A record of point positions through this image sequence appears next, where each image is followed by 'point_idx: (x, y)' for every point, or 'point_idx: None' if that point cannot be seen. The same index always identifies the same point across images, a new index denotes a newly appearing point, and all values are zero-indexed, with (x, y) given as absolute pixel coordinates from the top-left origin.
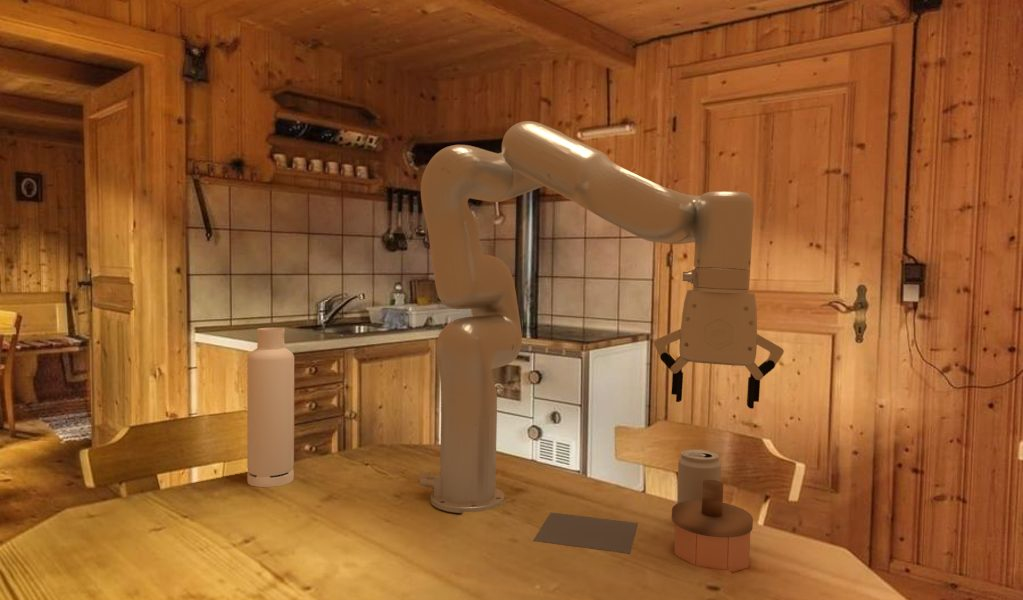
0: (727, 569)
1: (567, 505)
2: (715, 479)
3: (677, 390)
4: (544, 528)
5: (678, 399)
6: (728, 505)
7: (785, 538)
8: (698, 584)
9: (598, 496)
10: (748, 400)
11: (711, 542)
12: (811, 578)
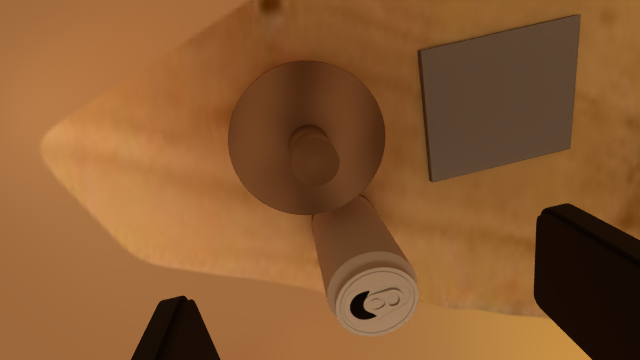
0: (262, 74)
1: (546, 202)
2: (328, 259)
3: (615, 232)
4: (569, 76)
5: (560, 207)
6: (289, 205)
7: (215, 256)
8: (294, 4)
9: (506, 261)
10: (179, 323)
11: None
12: (142, 128)
